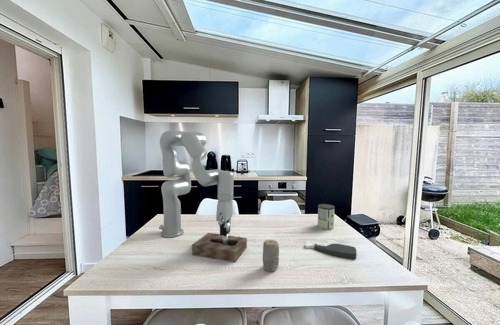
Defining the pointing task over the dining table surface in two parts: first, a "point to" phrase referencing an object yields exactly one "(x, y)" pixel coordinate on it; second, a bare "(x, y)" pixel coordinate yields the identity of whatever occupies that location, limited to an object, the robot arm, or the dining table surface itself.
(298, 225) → the dining table surface
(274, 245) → the carving
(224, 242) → the keyhole peg
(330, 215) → the coffee can
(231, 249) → the keyhole board
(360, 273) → the dining table surface
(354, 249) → the spray bottle
